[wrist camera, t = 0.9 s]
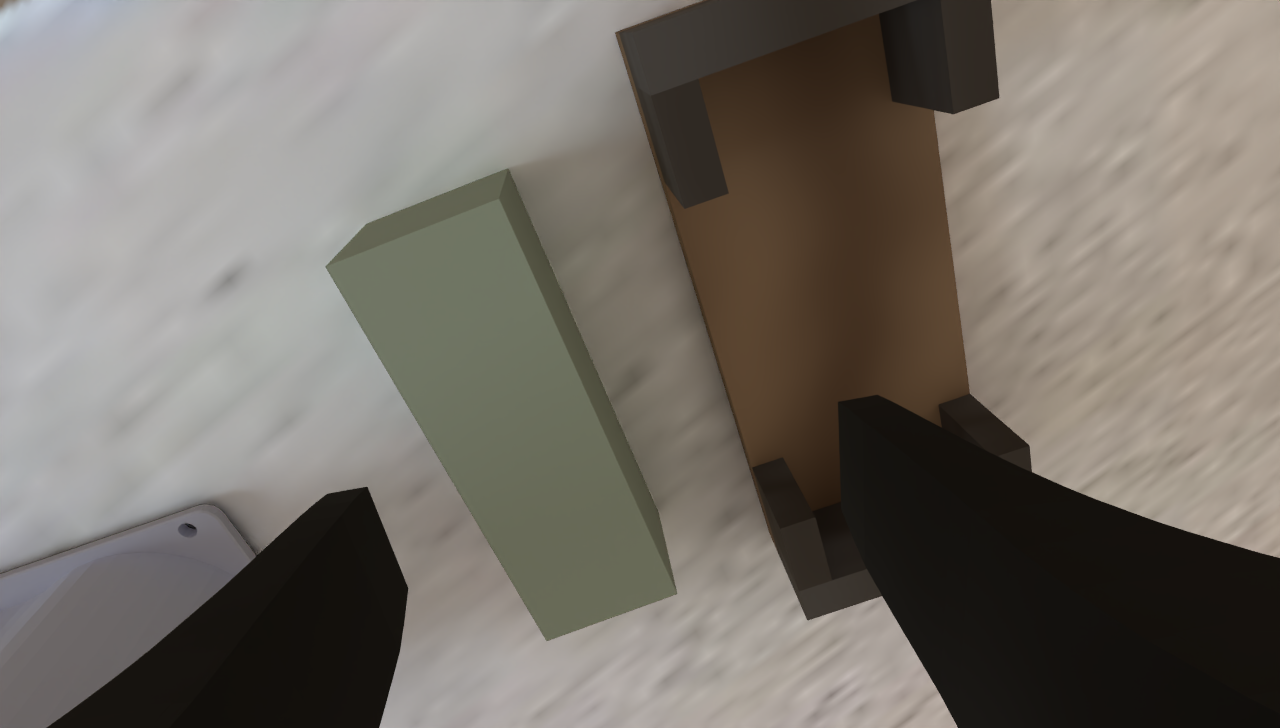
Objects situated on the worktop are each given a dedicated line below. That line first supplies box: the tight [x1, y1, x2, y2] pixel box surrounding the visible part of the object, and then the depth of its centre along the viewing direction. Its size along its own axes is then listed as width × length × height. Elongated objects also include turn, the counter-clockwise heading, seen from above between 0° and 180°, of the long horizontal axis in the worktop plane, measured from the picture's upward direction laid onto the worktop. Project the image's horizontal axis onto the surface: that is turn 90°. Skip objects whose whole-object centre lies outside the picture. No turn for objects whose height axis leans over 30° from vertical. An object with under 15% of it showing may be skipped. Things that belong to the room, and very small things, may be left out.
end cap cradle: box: [615, 0, 1032, 620], centre depth 19 cm, size 7×16×4 cm, turn 18°
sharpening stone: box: [326, 168, 677, 641], centre depth 19 cm, size 4×12×4 cm, turn 20°
